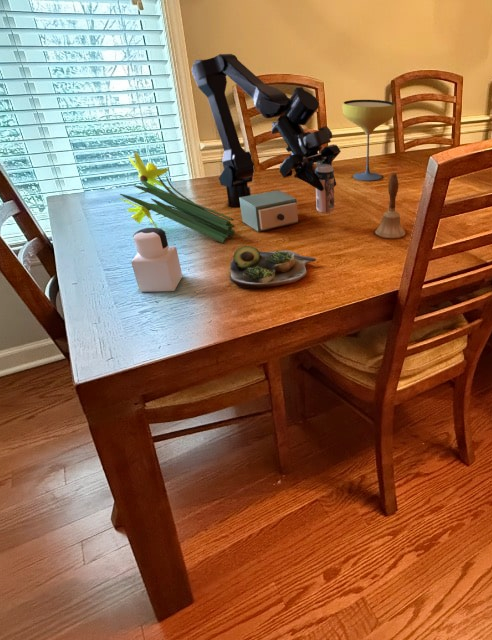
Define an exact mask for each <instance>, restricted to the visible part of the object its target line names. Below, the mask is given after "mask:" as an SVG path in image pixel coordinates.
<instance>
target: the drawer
mask: <svg viewBox="0 0 492 640" xmlns="http://www.w3.org/2000/svg"><path fill="white" fill-rule="evenodd" d="M298 212H299V211H298V202H297V203H295V202H293V203H291V202H290V203H285V204H280V205H275V206H270V207H265V208H261V209H258V214H259V223H260V229H262V230H263V229H268V228H272V227H276V226H280V225H285V224H289V223H293V222H297V221H298V222H299V214H298Z"/></svg>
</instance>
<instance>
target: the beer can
mask: <svg viewBox="0 0 492 640" xmlns="http://www.w3.org/2000/svg"><path fill="white" fill-rule="evenodd" d="M314 172H315V173H316V175H317V177H318V178H319V180H320V182H321V183H322V185H323V187H324V190H323V191H320V190H318V189H317V188H315V203H316V207H315V208H316V211H317V212H318V213H320V214H327V215H328V214H331V213H333V212H334V211H335V187H334V177H335V169H334V167H333V164H332V165H330V164H319V165H317V164H316V167H315V169H314Z"/></svg>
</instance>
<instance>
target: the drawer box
mask: <svg viewBox="0 0 492 640" xmlns="http://www.w3.org/2000/svg"><path fill="white" fill-rule="evenodd" d="M239 199H240V206H239V207H240V213H241V221H242V222H243V223H244V224H246V226H248V227H250V228H251V229H253V230H255V231H256V232H259V233H260V232H264V231H269V230H273V229H276V228H281V227H286V226H289V225H293V224H298V223H299V220H298V221H297V222H293V223H289V224H285V225H280V226H276V227H272V228H268V229H263V230H262V229H260V223H259V214H258V209H261V208H265V207H270V206H275V205H280V204H285V203H290V202H291V203H293V202H295V203H297V204H298V202H297V198H296V197H294V196H292V195H290V194H287V193H286V192H284V191H282V190H279V189H277V190H271V191H265V192H261V193H256V194H255V193H254V194H251V195H250V196H244V197H239Z"/></svg>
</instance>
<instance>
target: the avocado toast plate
mask: <svg viewBox="0 0 492 640" xmlns="http://www.w3.org/2000/svg"><path fill="white" fill-rule="evenodd" d="M316 261H317V257H311V256H305V255H300V254H299V253H297V252H294V251H291V250H275V251H260V250H258V249H257V248H255V247H254V246H250V245H244V246H240V247H239V248H237V249H236V250H235V251H234V254H233V256H232V260H231V261H230V265H229V269H230V275H229V278H230V281H231V282H232V283H233V284H235V285H236V286H238V287H240V288H242V289H264V288H273V287H279V286H284V285H288V284H294V283H296V282H298V281H300V280H301V279H302V278H304V277H305V276H306V275H307V268H306V265H307V264H309V263H313V262H316Z"/></svg>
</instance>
